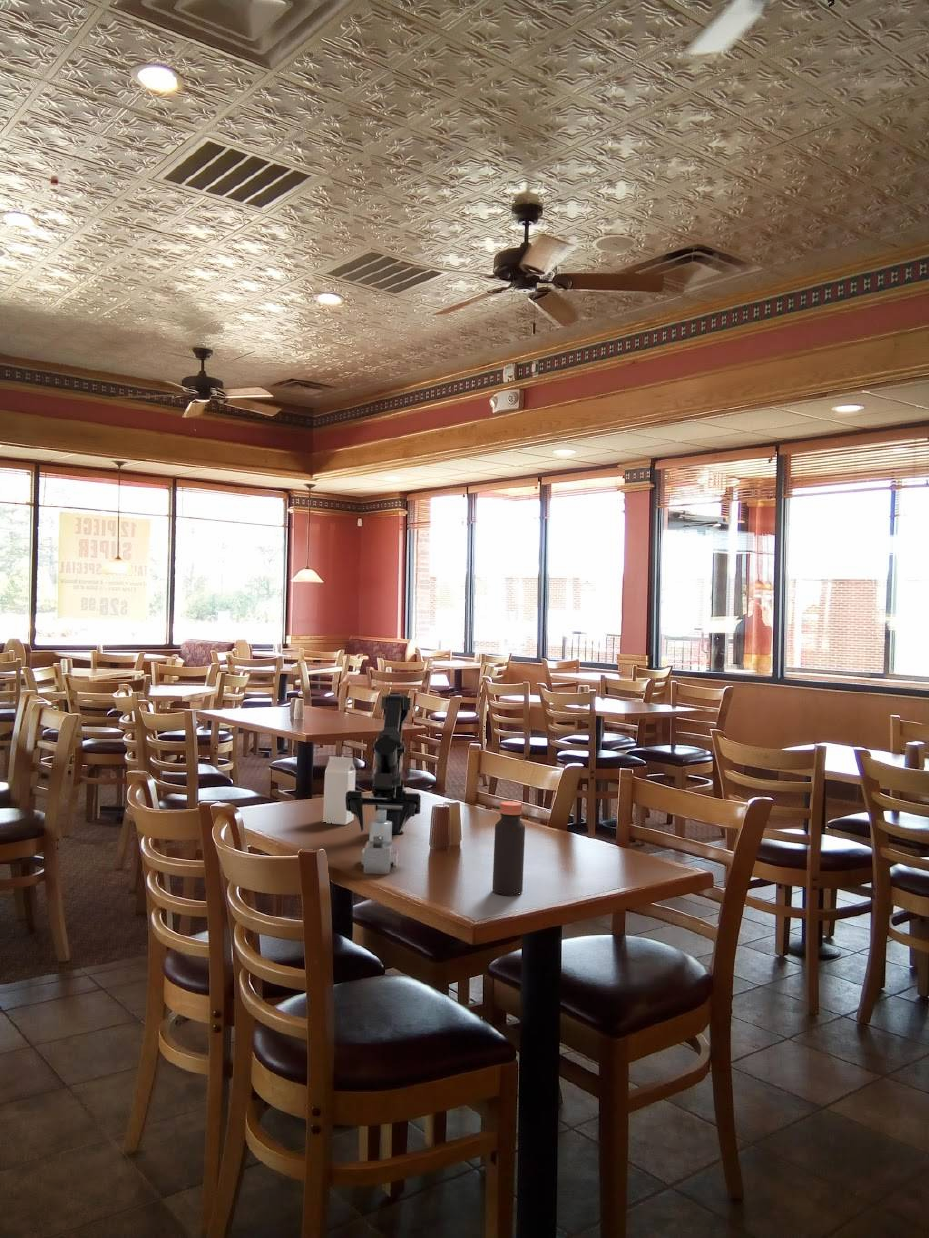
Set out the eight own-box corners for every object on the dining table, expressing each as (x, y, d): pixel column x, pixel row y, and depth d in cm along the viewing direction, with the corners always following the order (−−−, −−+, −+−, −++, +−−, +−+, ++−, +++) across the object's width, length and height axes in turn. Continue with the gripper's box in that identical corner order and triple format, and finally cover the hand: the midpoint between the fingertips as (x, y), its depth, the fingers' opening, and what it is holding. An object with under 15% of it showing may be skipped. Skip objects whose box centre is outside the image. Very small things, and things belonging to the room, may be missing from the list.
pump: (382, 858, 240) (384, 807, 240) (394, 863, 235) (396, 811, 235) (364, 861, 236) (366, 809, 236) (376, 866, 232) (378, 813, 232)
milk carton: (345, 825, 276) (348, 759, 276) (322, 823, 277) (325, 757, 277) (353, 820, 283) (356, 756, 283) (330, 818, 284) (333, 754, 284)
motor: (362, 860, 237) (364, 828, 237) (397, 861, 237) (398, 829, 237) (357, 872, 225) (359, 839, 225) (394, 874, 225) (395, 840, 225)
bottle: (518, 887, 219) (522, 800, 219) (525, 896, 212) (529, 806, 212) (489, 887, 218) (493, 800, 218) (495, 896, 211) (499, 806, 211)
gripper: (347, 758, 240) (340, 811, 229) (422, 761, 240) (418, 814, 229) (350, 784, 248) (343, 836, 237) (421, 787, 248) (418, 839, 237)
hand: (380, 831), depth 234 cm, fingers open, 9 cm apart
